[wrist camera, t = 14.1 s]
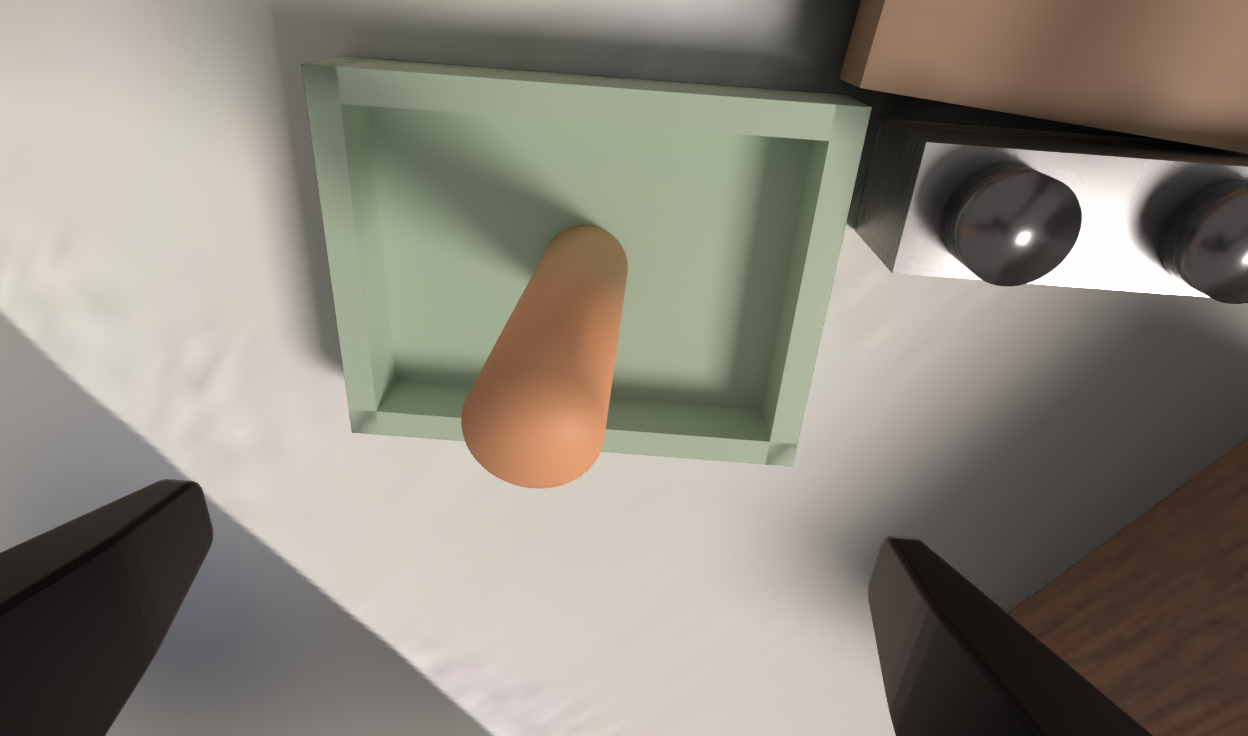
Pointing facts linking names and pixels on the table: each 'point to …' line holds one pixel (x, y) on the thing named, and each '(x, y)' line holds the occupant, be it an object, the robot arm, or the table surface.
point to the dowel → (552, 366)
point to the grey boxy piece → (1057, 209)
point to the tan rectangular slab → (1067, 61)
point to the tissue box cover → (1163, 609)
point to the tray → (583, 195)
